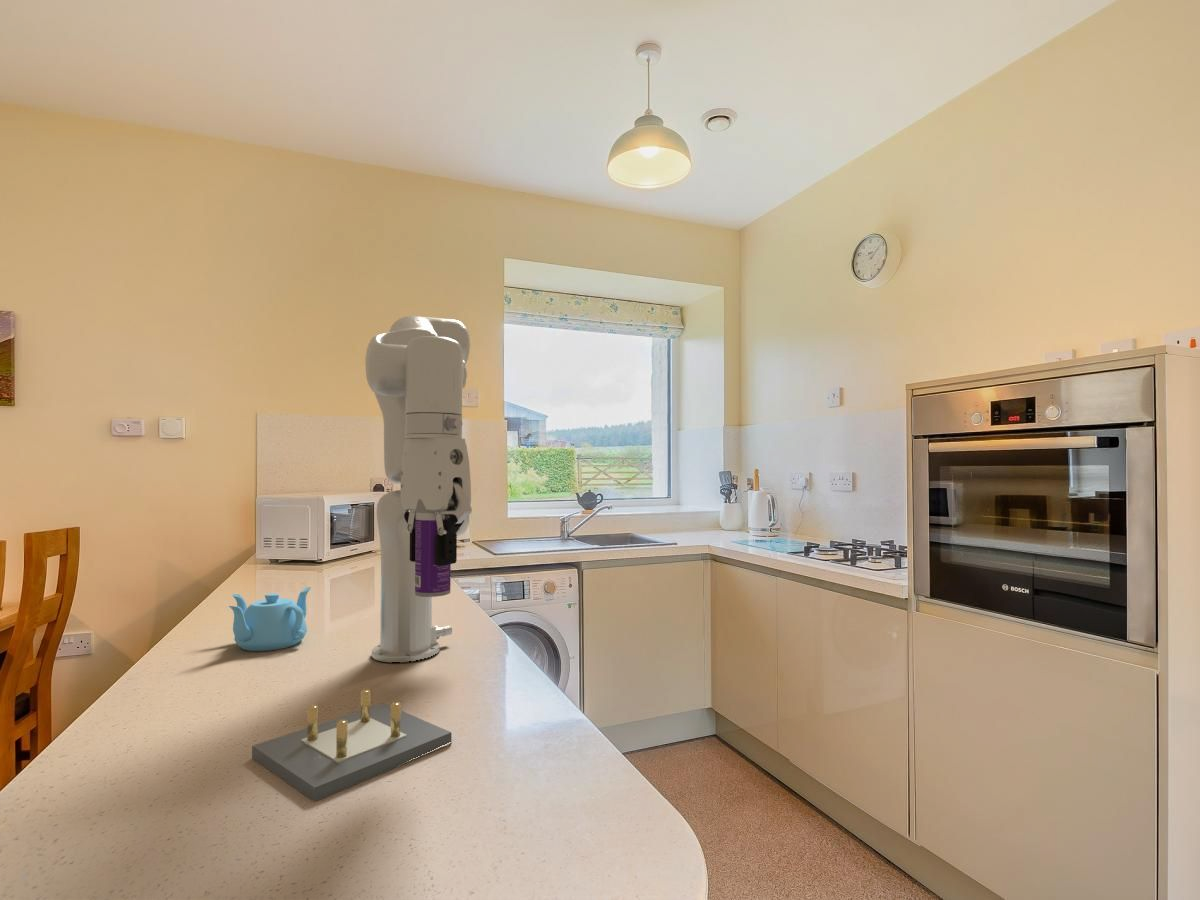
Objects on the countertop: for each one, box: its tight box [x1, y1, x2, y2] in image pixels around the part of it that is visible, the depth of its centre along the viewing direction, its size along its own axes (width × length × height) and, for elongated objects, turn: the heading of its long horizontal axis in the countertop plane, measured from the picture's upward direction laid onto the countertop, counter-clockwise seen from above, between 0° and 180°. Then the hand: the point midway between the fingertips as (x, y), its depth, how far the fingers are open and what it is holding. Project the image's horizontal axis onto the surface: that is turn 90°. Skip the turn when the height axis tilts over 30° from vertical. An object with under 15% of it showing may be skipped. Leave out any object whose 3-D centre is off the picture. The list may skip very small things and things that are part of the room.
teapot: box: [228, 586, 312, 652], centre depth 126 cm, size 15×15×10 cm
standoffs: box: [306, 689, 402, 758], centre depth 79 cm, size 8×8×4 cm
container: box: [415, 499, 452, 598], centre depth 84 cm, size 5×5×15 cm
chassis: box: [251, 702, 452, 803], centre depth 79 cm, size 18×16×2 cm
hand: (432, 560), depth 84 cm, fingers closed on container, 4 cm apart
